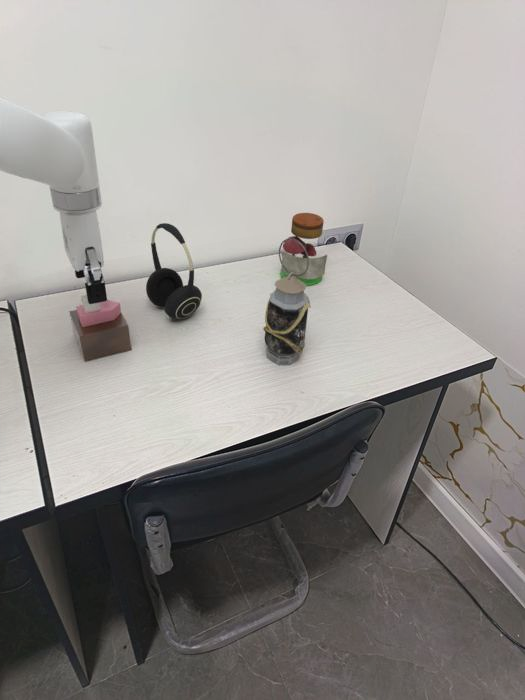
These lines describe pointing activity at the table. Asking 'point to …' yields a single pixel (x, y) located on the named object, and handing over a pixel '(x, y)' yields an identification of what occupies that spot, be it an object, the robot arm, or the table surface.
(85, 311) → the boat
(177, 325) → the table surface
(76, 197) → the robot arm
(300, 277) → the brown red grey stack
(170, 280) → the headphones
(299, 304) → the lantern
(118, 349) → the block
